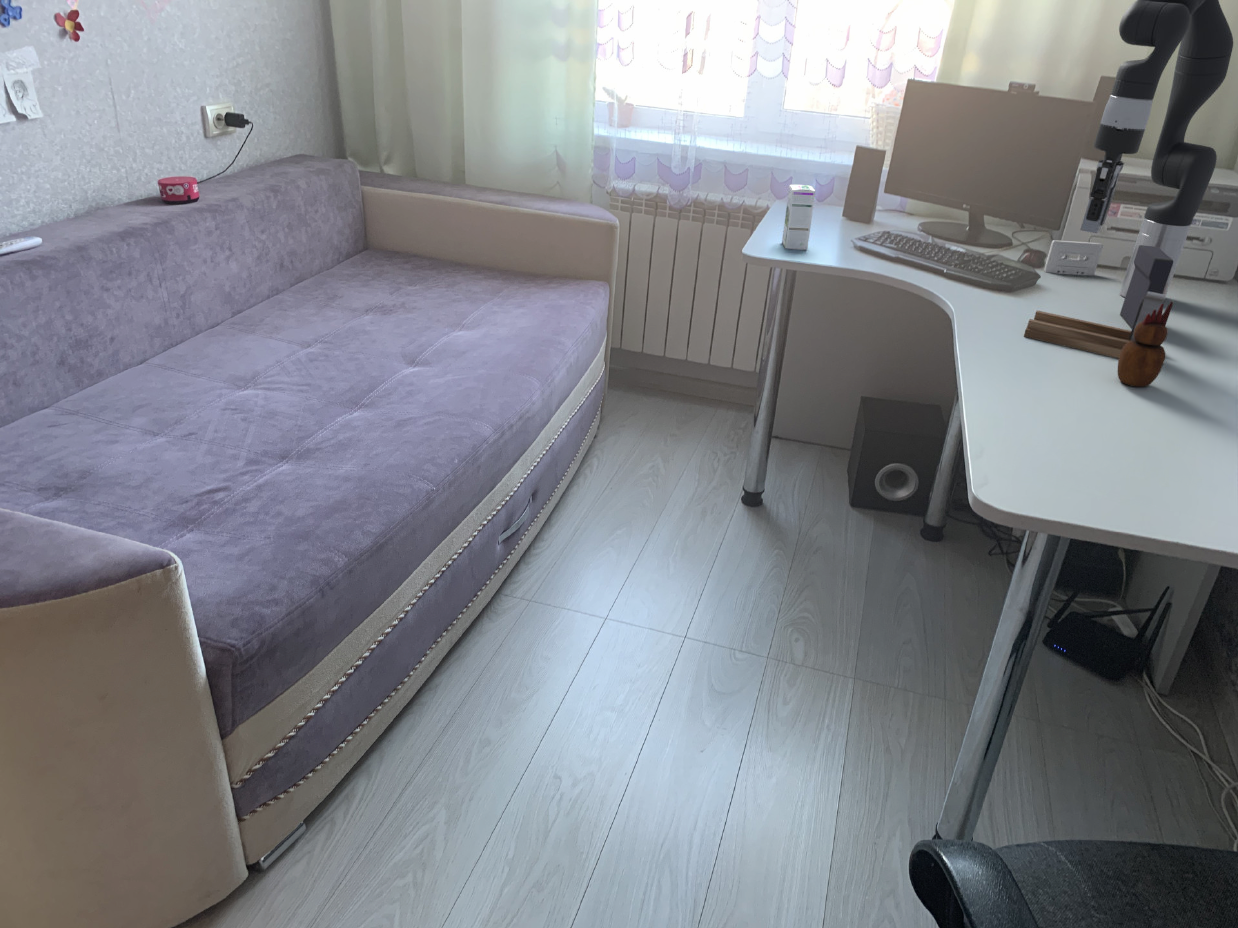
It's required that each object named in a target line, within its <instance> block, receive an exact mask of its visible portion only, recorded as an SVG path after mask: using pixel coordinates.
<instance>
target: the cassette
mask: <svg viewBox="0 0 1238 928" xmlns="http://www.w3.org/2000/svg"><path fill="white" fill-rule="evenodd" d="M1103 247H1104V244H1103V243H1102V242H1101V243H1100V242H1088V241H1087V242H1085V241H1072V240H1071V241H1070V240H1057V239H1056V240H1054V239H1053V240H1051V243H1050V247H1049V251H1048V255H1047V258H1046V262H1045V266H1044V269H1043V272H1045V273H1049V274H1058V275H1059V274H1060V275H1075V276H1076V275H1077V276H1094V275H1095V274H1096V271H1097V267H1098V264H1099V261H1100V257H1101V254H1102V250H1103V249H1104V248H1103ZM1070 255H1078V257H1077V258H1070Z"/></svg>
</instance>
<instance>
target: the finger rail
mask: <svg viewBox="0 0 1238 928" xmlns="http://www.w3.org/2000/svg"><path fill="white" fill-rule="evenodd" d="M1164 298H1165V299H1166V297H1165V295H1164V294H1159V293H1154V292H1149V291H1148V292H1147V294H1146V296H1145V299H1143V300H1142V302H1141V304H1140V307H1139V310H1138V313H1137V316H1136V319H1135V322H1134V325H1133V328H1131V330H1129V329H1124V328H1120V327H1115V326H1112V325H1111V326H1110V325H1106V324H1102V323H1097V322H1093V321H1087V320H1082V319H1079V318H1075V317H1070V316H1065V315H1060V314H1055V313H1052V312H1046V311H1041V310H1036V311H1035V313H1034V317H1033V319H1031V318H1029V319H1028V322H1027V326H1026V328H1025V331H1024V334H1023V337H1024V338H1029V339H1032V340H1033V339H1034V340H1037V341H1041V342H1046V343H1050V344H1055V345H1059V346H1064V347H1068V348H1072V349H1077V350H1080V351H1086V352H1090V353H1094V354H1097V355H1102V356H1106V357H1111V358H1116V359H1119V356H1120V353H1121V350H1122V348H1123V347H1124V345H1125V344H1126V343H1128V342H1129V341H1133V340H1135V339H1134V336H1133V334H1134V330H1135V327H1136V326H1137V325H1138V324H1139V323H1141V322H1142V321H1144V319H1145V317H1146V316H1147V314H1150V316H1151V314H1152V312H1153V310H1156V314H1157V312H1158V310H1159V308H1160V306H1161V304H1164V302H1165V300H1164ZM1163 301H1164V302H1163ZM1160 346H1162V344H1161V345H1160Z"/></svg>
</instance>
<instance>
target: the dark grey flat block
mask: <svg viewBox="0 0 1238 928" xmlns="http://www.w3.org/2000/svg"><path fill="white" fill-rule="evenodd" d="M1134 265H1135V269H1134V272H1133V275H1132V278H1131V281H1130V285H1129V288H1128V291H1127V294H1126V297H1124V300H1123V304H1122V306H1121V309H1120V312H1119V315H1120V317H1121V318H1122V319H1123V320H1124V321H1125V323H1126V324H1127V325H1128V327H1130V328H1131V329H1132V328H1133V325H1134V322H1135V319H1136V316H1137V313H1138V310H1139V307H1140V304H1141V302H1142V300H1143V299H1145V296H1146V294H1147V292H1148V291H1149V292H1154V293H1159V294H1165V291H1166V289H1167V286H1168V282H1167V281H1168V280H1169V277H1170V274H1171V271H1172V268H1173V265H1174V262H1173V260H1172V259H1171V258H1170V257H1169V256H1168V255H1166V254H1165V253H1164V252H1163V251H1162V250H1161V249H1159V248H1158V247H1154V246H1144V245H1140V246H1139V247H1138V250H1137V253H1136V257H1135V260H1134Z"/></svg>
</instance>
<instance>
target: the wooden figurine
mask: <svg viewBox="0 0 1238 928" xmlns="http://www.w3.org/2000/svg"><path fill="white" fill-rule="evenodd" d="M1173 305H1174V302H1173V301H1170V303H1169V304H1168V305H1167V307H1166V309H1165V310H1164V303H1163V304H1161V306H1160V308H1159V310H1158V312H1157V314H1156V310H1153V312H1152V314H1151V316H1150V314H1147V316H1146V317H1145V319H1144V321H1142V322H1141V323H1139V324H1138V325H1137V326H1136V327H1135V330H1134V334H1133V336H1134V339H1135V340H1133V341H1129V342H1128V343H1126V344H1125V345H1124V347H1123V348H1122V350H1121V353H1120V356H1119V358H1118V361H1117V370H1116V371H1117V377H1118V380H1120V382H1121V383H1123V384H1125V385H1128V386H1130V385H1131V387H1134V386H1135V388H1139V387H1140V388H1144V387H1148V386H1150V385H1151V384H1152V383H1154V381H1155V380H1156V379H1157V378H1158V376H1159V374H1160V373H1161V371H1162V368H1163V366H1164V363H1165V359H1166V351H1165V348H1164V347H1163V346H1162V344H1163V343H1164V342H1165V340H1166V339H1167V337H1168V333H1169V332H1168V328H1167V326H1166V325H1167V322H1168V320H1169V317H1170V313H1171V310H1172V308H1173ZM1163 311H1164V312H1163ZM1160 345H1161V346H1160Z"/></svg>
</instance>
